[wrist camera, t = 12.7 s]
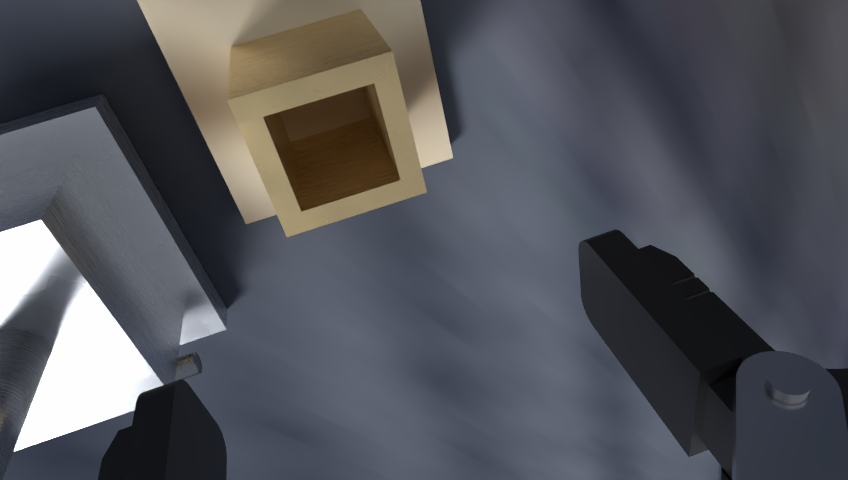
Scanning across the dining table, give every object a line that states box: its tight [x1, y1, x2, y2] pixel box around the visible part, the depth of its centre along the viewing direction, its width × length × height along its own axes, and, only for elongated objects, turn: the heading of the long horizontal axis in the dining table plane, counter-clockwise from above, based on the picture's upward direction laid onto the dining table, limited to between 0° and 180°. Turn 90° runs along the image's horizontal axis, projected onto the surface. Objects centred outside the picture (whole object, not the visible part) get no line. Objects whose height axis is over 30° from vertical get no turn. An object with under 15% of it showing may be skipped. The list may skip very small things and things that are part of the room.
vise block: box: [0, 93, 227, 480], centre depth 20 cm, size 12×10×14 cm
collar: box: [227, 9, 427, 237], centre depth 22 cm, size 5×5×6 cm
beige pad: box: [137, 0, 453, 224], centre depth 24 cm, size 10×10×1 cm
